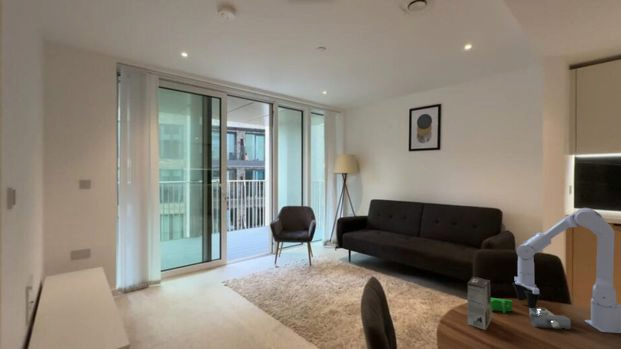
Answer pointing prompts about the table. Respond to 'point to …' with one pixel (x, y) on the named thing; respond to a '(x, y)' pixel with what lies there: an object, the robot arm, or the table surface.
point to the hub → (539, 311)
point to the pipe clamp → (501, 305)
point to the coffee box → (479, 302)
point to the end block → (550, 321)
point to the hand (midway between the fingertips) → (526, 304)
